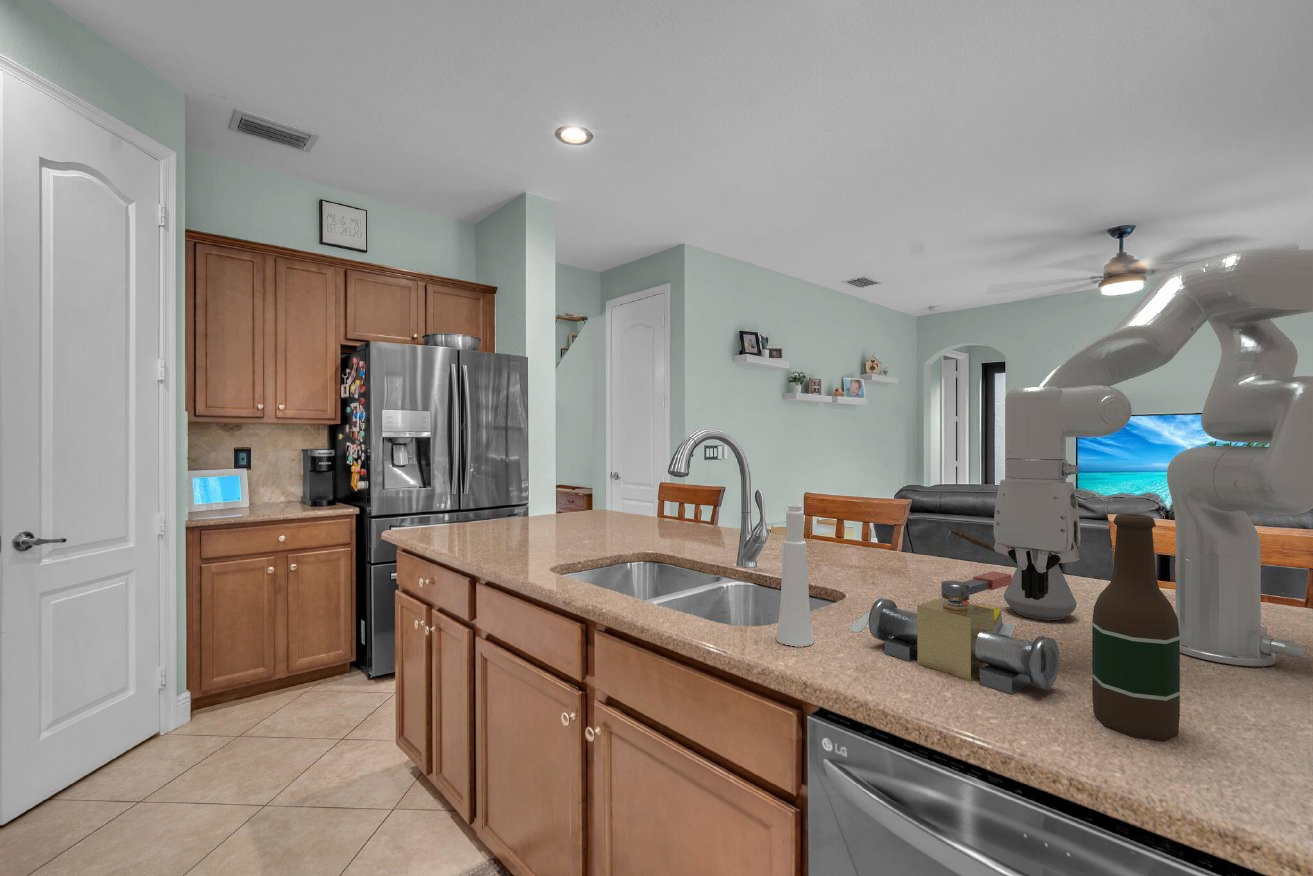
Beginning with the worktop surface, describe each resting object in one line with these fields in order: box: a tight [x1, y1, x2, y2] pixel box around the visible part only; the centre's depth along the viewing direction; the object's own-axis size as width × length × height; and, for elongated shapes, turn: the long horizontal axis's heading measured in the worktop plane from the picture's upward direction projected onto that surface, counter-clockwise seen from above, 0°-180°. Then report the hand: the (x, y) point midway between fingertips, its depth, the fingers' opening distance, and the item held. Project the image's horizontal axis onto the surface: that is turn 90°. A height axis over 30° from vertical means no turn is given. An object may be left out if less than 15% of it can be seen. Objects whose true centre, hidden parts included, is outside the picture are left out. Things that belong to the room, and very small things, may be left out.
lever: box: [940, 571, 1012, 601], centre depth 89 cm, size 4×16×2 cm, turn 127°
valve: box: [868, 597, 1060, 695], centre depth 85 cm, size 24×7×10 cm, turn 37°
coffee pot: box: [946, 528, 1077, 621], centre depth 113 cm, size 21×12×15 cm, turn 61°
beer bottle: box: [1091, 513, 1181, 742], centre depth 68 cm, size 8×8×24 cm
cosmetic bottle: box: [775, 504, 815, 648], centre depth 96 cm, size 6×6×22 cm
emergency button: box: [931, 598, 1017, 637], centre depth 105 cm, size 9×4×15 cm
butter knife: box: [849, 611, 870, 633], centre depth 113 cm, size 1×27×3 cm
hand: (1034, 597), depth 87 cm, fingers closed
